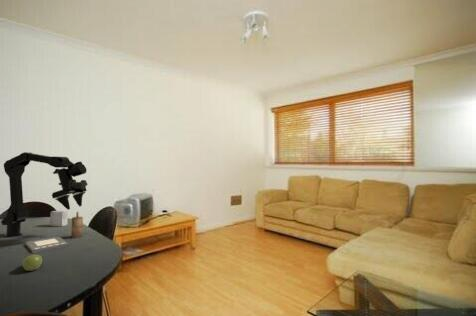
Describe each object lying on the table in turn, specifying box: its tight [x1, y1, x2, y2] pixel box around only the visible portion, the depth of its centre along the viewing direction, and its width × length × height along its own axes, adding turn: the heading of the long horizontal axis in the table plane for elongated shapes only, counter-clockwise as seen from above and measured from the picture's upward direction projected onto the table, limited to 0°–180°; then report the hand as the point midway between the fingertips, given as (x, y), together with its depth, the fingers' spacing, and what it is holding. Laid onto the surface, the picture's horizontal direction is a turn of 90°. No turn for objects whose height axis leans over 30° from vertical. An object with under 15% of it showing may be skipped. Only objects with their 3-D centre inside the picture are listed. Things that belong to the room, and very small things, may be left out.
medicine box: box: [49, 210, 68, 227], centre depth 157 cm, size 8×4×9 cm, turn 84°
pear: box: [22, 254, 43, 272], centre depth 95 cm, size 6×5×10 cm
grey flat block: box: [25, 236, 69, 254], centre depth 119 cm, size 16×13×1 cm
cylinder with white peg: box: [70, 211, 84, 239], centre depth 134 cm, size 5×5×13 cm
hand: (74, 207), depth 134 cm, fingers open, 9 cm apart
